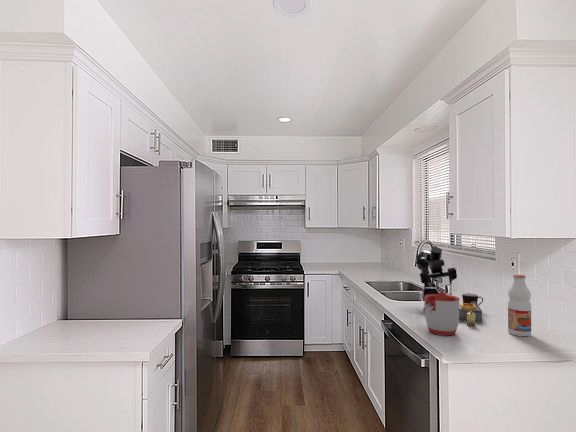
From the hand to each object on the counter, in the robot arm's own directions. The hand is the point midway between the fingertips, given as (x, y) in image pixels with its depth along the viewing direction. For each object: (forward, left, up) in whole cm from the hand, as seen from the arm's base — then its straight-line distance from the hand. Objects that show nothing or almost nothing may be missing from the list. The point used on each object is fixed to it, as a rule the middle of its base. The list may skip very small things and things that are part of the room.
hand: (441, 285), depth 197 cm
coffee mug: (-31, +18, -19) cm, 41 cm away
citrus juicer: (+21, -1, -19) cm, 29 cm away
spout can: (+1, +14, -19) cm, 24 cm away
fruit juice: (+9, +34, -19) cm, 40 cm away
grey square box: (-13, +14, -19) cm, 27 cm away
